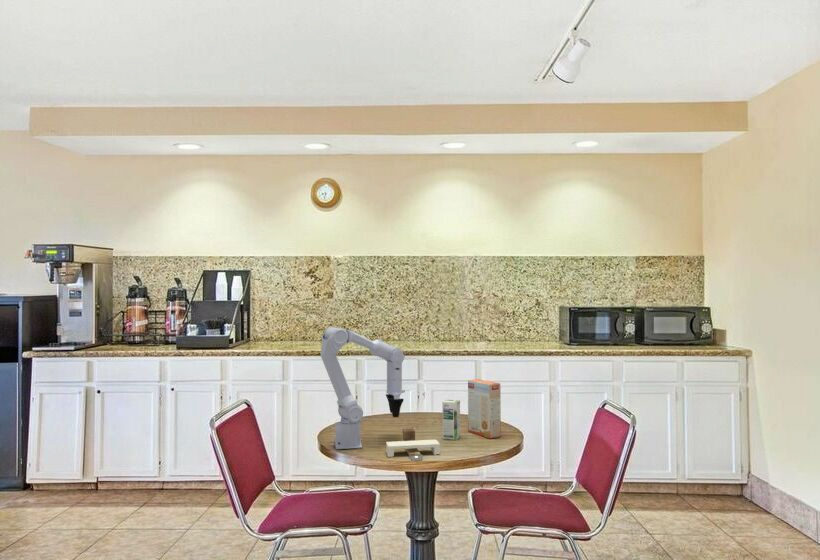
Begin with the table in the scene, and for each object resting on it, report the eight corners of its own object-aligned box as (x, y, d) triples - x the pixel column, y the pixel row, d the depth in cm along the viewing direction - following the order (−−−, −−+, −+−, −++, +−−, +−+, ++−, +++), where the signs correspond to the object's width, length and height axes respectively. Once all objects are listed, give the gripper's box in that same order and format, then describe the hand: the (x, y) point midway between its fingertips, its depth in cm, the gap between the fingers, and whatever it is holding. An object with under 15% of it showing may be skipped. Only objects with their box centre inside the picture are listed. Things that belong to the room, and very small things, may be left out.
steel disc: (411, 462, 184) (411, 457, 184) (408, 458, 188) (408, 454, 188) (424, 461, 185) (424, 457, 185) (421, 457, 189) (421, 453, 189)
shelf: (388, 457, 189) (388, 446, 189) (386, 452, 195) (386, 441, 195) (439, 454, 192) (439, 444, 192) (436, 449, 198) (436, 439, 198)
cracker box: (501, 437, 214) (501, 383, 215) (489, 439, 211) (489, 384, 212) (479, 429, 227) (479, 378, 227) (467, 431, 223) (467, 379, 224)
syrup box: (442, 439, 212) (441, 401, 212) (446, 435, 218) (446, 398, 218) (456, 440, 210) (456, 402, 210) (460, 436, 216) (460, 399, 216)
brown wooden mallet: (409, 457, 189) (409, 439, 189) (402, 445, 204) (402, 428, 204) (420, 456, 189) (420, 439, 189) (413, 444, 204) (413, 428, 205)
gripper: (407, 381, 205) (407, 418, 205) (402, 376, 220) (402, 410, 219) (388, 382, 204) (388, 419, 204) (384, 376, 219) (384, 411, 218)
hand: (394, 414), depth 212 cm, fingers open, 7 cm apart
